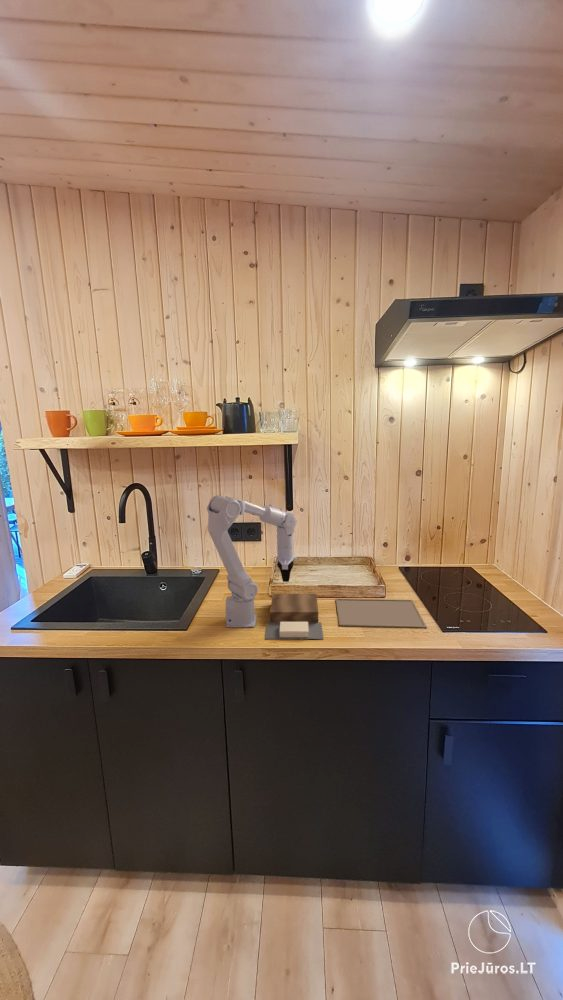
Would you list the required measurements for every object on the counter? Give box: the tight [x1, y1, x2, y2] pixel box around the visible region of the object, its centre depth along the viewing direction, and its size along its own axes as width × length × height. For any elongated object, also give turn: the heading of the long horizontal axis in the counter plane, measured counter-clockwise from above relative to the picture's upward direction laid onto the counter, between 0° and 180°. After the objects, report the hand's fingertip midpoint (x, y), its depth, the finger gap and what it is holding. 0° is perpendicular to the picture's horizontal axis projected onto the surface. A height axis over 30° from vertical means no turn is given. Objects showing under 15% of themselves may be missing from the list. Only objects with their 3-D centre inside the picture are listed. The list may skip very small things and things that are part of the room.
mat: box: [264, 621, 324, 641], centre depth 130 cm, size 18×10×1 cm, turn 88°
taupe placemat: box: [335, 598, 428, 629], centre depth 140 cm, size 19×1×28 cm
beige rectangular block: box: [280, 622, 309, 637], centre depth 128 cm, size 9×6×2 cm, turn 88°
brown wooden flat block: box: [269, 593, 319, 622], centre depth 141 cm, size 16×14×4 cm
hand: (285, 581), depth 145 cm, fingers closed
